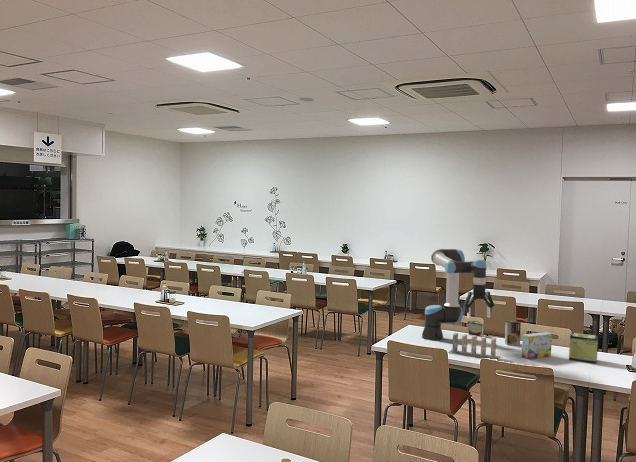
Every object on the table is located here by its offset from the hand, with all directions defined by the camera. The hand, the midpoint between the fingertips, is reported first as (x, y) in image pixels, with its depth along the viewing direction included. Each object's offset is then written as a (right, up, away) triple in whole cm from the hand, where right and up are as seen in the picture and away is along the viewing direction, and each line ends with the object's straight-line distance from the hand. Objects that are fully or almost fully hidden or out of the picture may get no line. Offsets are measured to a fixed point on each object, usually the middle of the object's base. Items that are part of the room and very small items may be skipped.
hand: (478, 317), depth 333 cm
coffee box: (+34, -25, +35) cm, 55 cm away
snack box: (+37, -26, +2) cm, 45 cm away
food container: (+17, -23, +62) cm, 68 cm away
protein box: (+65, -26, -2) cm, 70 cm away
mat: (-2, -25, +3) cm, 25 cm away
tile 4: (-8, -24, +6) cm, 26 cm away
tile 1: (+8, -25, -3) cm, 26 cm away
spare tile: (-13, -24, +8) cm, 28 cm away
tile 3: (-2, -24, +3) cm, 24 cm away
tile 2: (+3, -24, 0) cm, 24 cm away
